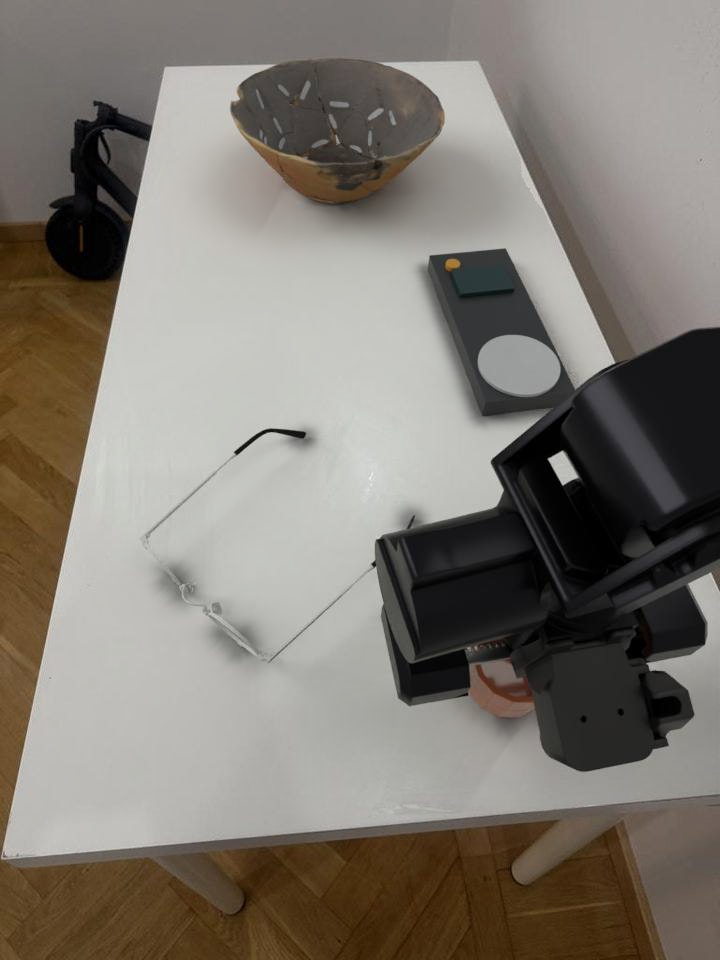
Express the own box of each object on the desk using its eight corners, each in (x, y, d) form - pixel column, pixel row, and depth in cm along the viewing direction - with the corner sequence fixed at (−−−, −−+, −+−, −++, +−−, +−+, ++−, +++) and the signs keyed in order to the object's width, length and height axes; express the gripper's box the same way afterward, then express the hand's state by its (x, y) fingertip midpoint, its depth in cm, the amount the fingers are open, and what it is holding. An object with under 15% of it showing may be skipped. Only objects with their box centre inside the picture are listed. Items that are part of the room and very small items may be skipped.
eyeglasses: (131, 558, 52) (113, 528, 47) (294, 427, 60) (291, 391, 56) (267, 693, 46) (260, 672, 42) (427, 528, 54) (435, 496, 50)
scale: (570, 405, 62) (578, 387, 60) (482, 416, 61) (487, 398, 59) (502, 262, 74) (507, 243, 72) (427, 269, 73) (430, 250, 71)
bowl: (457, 232, 77) (471, 151, 69) (253, 255, 74) (243, 172, 65) (405, 125, 91) (412, 47, 82) (231, 140, 87) (220, 60, 79)
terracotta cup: (546, 646, 48) (563, 625, 45) (541, 728, 45) (559, 712, 41) (468, 629, 49) (478, 606, 45) (457, 709, 46) (468, 691, 42)
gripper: (441, 777, 27) (407, 819, 40) (835, 699, 29) (682, 762, 42) (387, 545, 33) (373, 647, 46) (717, 496, 35) (615, 606, 48)
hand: (510, 667), depth 45 cm, fingers open, 9 cm apart
